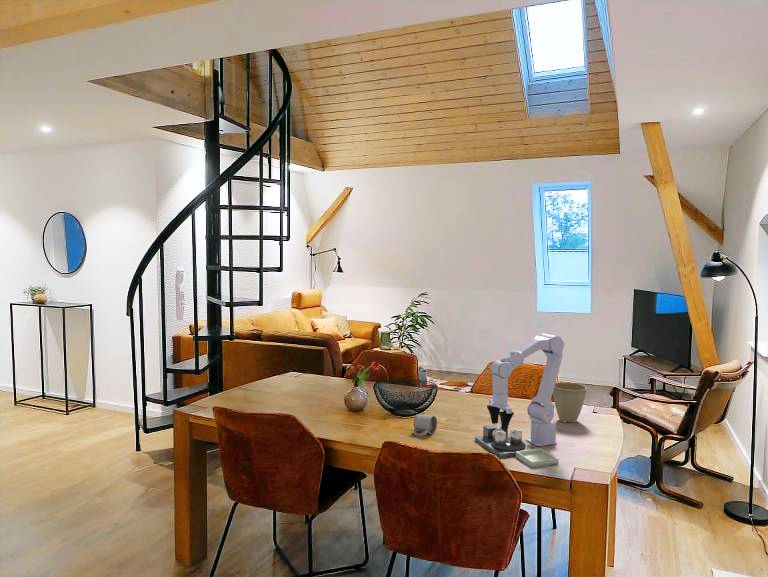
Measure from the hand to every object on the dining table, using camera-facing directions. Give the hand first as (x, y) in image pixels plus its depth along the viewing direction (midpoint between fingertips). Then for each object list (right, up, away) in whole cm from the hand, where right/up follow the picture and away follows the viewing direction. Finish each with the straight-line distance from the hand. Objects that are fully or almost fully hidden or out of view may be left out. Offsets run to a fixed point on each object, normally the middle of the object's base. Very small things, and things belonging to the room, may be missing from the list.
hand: (499, 426), depth 222 cm
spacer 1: (0, -7, 0) cm, 7 cm away
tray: (+12, -10, -10) cm, 18 cm away
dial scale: (+3, -9, +4) cm, 10 cm away
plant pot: (+39, -7, +38) cm, 55 cm away
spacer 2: (+7, -7, +3) cm, 10 cm away
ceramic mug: (-28, -8, +20) cm, 35 cm away
